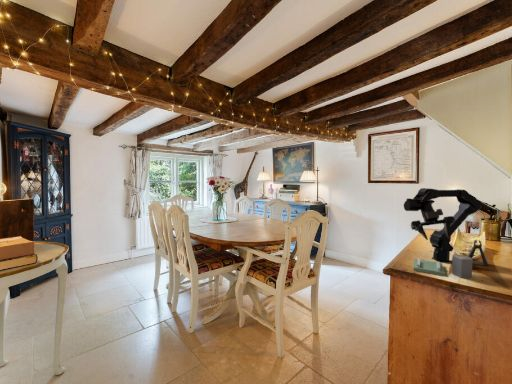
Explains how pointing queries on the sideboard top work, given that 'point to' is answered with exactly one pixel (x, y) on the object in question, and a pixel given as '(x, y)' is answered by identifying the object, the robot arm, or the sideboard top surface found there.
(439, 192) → the robot arm
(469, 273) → the chute block
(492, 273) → the sideboard top surface
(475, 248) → the dark a-frame stand
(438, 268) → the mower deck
